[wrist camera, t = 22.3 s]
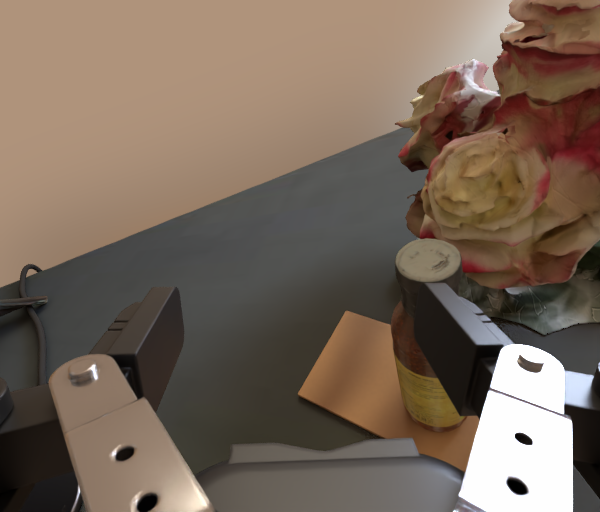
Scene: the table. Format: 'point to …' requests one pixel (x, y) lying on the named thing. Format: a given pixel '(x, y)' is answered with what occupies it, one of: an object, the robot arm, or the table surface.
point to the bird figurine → (20, 303)
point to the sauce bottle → (408, 356)
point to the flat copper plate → (377, 390)
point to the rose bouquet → (518, 168)
